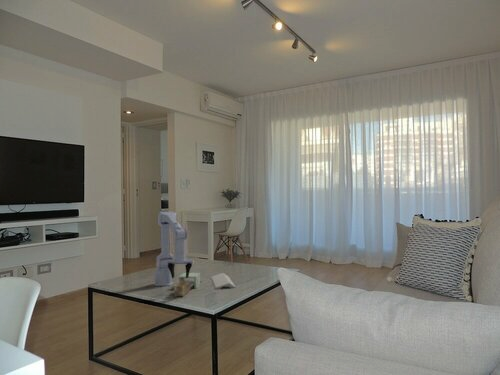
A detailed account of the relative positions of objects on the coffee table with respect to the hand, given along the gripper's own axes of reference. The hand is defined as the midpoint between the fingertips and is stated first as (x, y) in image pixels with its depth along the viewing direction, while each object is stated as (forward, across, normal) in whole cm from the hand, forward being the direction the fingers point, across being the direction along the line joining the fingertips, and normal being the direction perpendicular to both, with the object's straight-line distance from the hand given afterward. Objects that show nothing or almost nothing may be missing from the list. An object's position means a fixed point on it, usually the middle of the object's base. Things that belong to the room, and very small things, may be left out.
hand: (180, 277), depth 188 cm
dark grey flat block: (+9, 0, +28) cm, 30 cm away
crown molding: (+10, +18, +30) cm, 36 cm away
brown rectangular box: (+9, 0, +4) cm, 10 cm away
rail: (+9, 0, +11) cm, 15 cm away
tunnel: (+9, 0, +19) cm, 22 cm away
